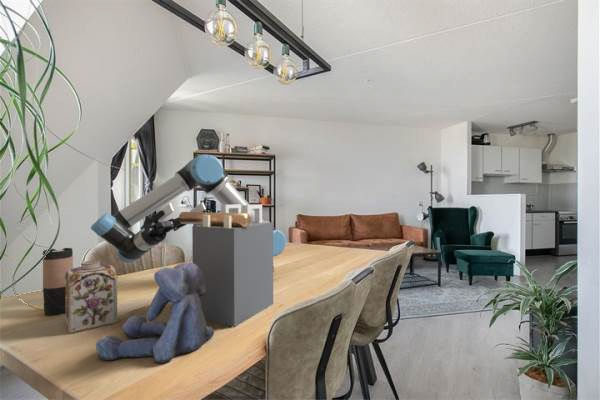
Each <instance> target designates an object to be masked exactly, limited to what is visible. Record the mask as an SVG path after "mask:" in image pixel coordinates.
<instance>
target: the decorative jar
mask: <svg viewBox="0 0 600 400" xmlns="http://www.w3.org/2000/svg"><path fill="white" fill-rule="evenodd" d="M65 278H66V280H65V308H66V313H65V322H66V326H67V328H68V329H67V330H68V333H69V334H74V333H79V332H83V331H88V330H92V329H97V328H101V327H104V326H108V325H113V324H116V323H117V322H118V310H119V309H118V304H119V302H118V274H117V272H116V268H115V266H114V265H111V264H110V265H109V264H101V261H100V260H86V261H83V262H81V263H80V266H77V267H73V269H70V270H68V271H67V272H66V275H65Z"/></svg>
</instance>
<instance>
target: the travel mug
mask: <svg viewBox="0 0 600 400" xmlns="http://www.w3.org/2000/svg"><path fill="white" fill-rule="evenodd" d="M50 249H51V250H50V252H49V253H48V254H47V255H46V257H45V258H44V259H43V258H42V295H43V297H42V299H43V315H44V316H46V317H47V316H48V317H54V316H55V317H56V316H61V315H66V308H65V280H66V278H65V275H66V272H67V271H68V270H70V269H73V268H74V264H73V262H74V261H73V260H74V256H73V248H72V247H64V248H62V249H55V248H50ZM47 250H48V249H46V250H45V249H44V250H43V251H42V256H43V255H44V254H45V252H46V251H47Z"/></svg>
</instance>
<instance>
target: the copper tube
mask: <svg viewBox="0 0 600 400" xmlns="http://www.w3.org/2000/svg"><path fill="white" fill-rule="evenodd" d="M203 215H210V225H217V226H224V216H231V226H235V227H248V226H249V225H250V223H251V217H250V215H249V214H242V213H221V212H205V211H203V212H190V211H182V212H180V213H179V215H178V217H179V221H180V223H182V224H187V225H197V226H198V225H203Z"/></svg>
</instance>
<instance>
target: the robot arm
mask: <svg viewBox="0 0 600 400" xmlns="http://www.w3.org/2000/svg"><path fill="white" fill-rule="evenodd" d="M198 187H200V189H202V190H203V192H204V193H205V194H208V195H212V196H214V198H215V199H216V200H217V201H218V202H219V204H220V205H233V204H241V213H242V214H243V205H250V203H249V202H248V201H247V200H246V199H245V197H243V195H242V194H241V193H240V192H239V191H238V190H237V189H236V187H234V185H233V184H232V183H231V182H230V181H229V174H228V173H227V172H226V170H224V167H223V163H222V162H221V160H220V159H218V158H217V157H216V156H214V155H212V154H211V155H210V154H200V155H197V156H196V157H194V158H193V159H191V160H189V162H188V163H186V164H185V165H184V166H183V167H182V168H181V169H179V170H177V172H176V171H175V173H174V176H173V177H171V178H170V179H168V180H166V181H165V182H164V183H162V184H160V185H158V186H157V187H155V188H153V189H152V190H150V191H149V192H147V193H146V194H144V195H142V196H141V197H140V198H138V199H136V200H135V201H133V202H131V203H130V204H129V205H126V206H125V207H124V208H122V209H121V210H119V211H117V212H116V213H114V214H113V215H112V214H110V213H107V212H105V213H104V214H103V215H101V216H100V218H98V219H97V220H96V221H95V222H94V223H93V224H91V226H90V229H91V230H92V231H93V232H94V233H95V234H96V236H99V237H100V238H102V239H103V240H104V241H106V242H107V243H109V244H110V245H112V246H113V247H114V248H115V249H116V250H117V253H116V254H117V257H118V259H120V261H122V262H124V263H129V264H130V263H133V262H135V261H137V260H139V259H140V258H141V257H143V256H144V255H145V254H146V253H148V252H150V251H152V249H153V248H154V247H156V246H157V245H158V244H160V243H161V242H163V241H164V240H165V239H166V237H167V233H169V232H171V231H173V232H176V231H179V229H181V228H183V227H185V226H187V225H188V224H182V223H180V221H179V216H178V217H176V218H170V219H167V220H165V219H166V218H167V217H169V216H170V215H172V213H174V211H175V210H174V207H173V204H172V202H171V201H172V200H174V199H175V198H177V197H178V196H180V195H181V194H183V193H185V192H190V191H192V190H194V189H196V188H198ZM169 202H171V203H169ZM163 206H164V207H163ZM162 207H163V208H162ZM159 209H160V210H159ZM206 209H207V208H206V206H205V203H204V202H200V203H199V204H197V206H195V207H194V208H192V209H190V211H189V212H205V211H206ZM158 210H159V211H158ZM156 211H157V213H154V212H156ZM153 213H154V214H153ZM229 213H234V208H229ZM151 214H152V215H151ZM250 214H251V222H255V209H250ZM143 219H144V222H143V224H142V226H141V227H140V230H139V231H137V232H136V233H135V232H133V231H132V230H131V229H130V228H132V227H133V226H134V225H136V224H138V223H139V222H141V221H142V220H143ZM163 220H164V221H163ZM262 222H266V223H271V221H270V220H264V219H263V218H262ZM286 246H287V238H286V236H285V233H283V232H282V231H281V230H279V229H276V228H275V227H274V225H273V257H277V256H279V255H281V254H282V253H283V251H284V250H285V248H286ZM274 272H275V267H274V265H273V273H274Z"/></svg>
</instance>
